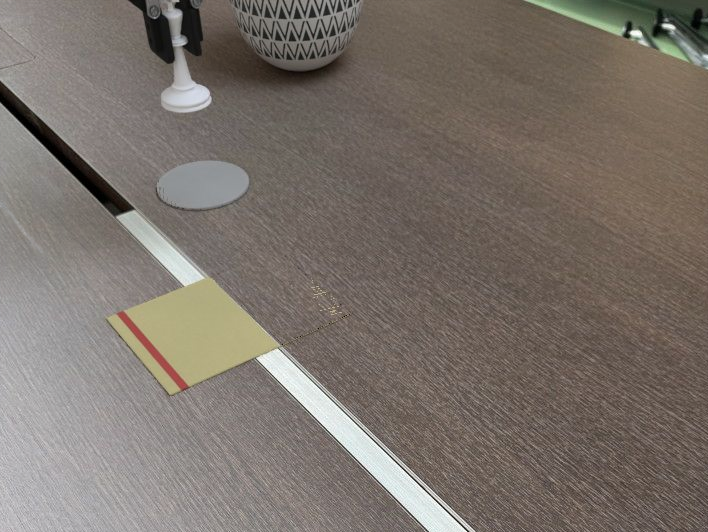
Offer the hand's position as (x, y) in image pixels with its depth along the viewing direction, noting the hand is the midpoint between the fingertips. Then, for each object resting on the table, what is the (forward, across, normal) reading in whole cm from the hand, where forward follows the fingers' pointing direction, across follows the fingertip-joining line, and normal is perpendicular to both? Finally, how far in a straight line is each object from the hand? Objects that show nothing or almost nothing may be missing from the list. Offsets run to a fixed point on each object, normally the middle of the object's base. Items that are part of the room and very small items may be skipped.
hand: (178, 53), depth 79 cm
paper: (+19, +6, +15) cm, 25 cm away
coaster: (+19, -4, -9) cm, 21 cm away
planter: (+19, -32, -32) cm, 49 cm away
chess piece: (+5, 0, 0) cm, 5 cm away
